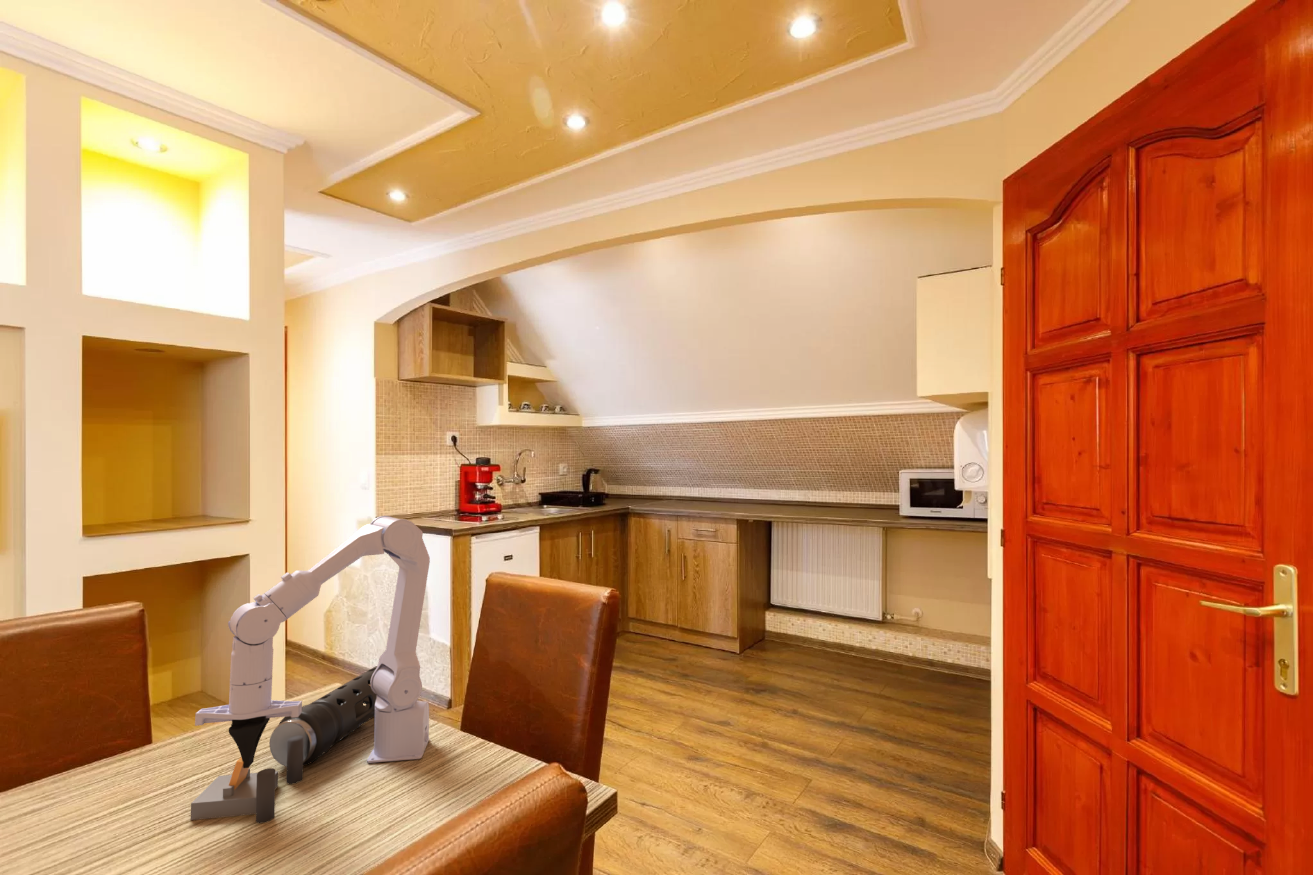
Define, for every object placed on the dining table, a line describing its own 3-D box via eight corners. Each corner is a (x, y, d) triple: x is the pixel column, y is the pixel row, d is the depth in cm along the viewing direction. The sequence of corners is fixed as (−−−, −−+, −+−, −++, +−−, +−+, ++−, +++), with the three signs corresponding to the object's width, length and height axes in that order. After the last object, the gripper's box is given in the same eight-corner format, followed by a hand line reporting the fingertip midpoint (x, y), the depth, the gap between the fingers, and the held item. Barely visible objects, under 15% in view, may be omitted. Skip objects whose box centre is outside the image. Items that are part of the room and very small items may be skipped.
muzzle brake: (362, 709, 134) (405, 704, 133) (265, 775, 106) (317, 769, 105) (356, 667, 135) (399, 661, 133) (258, 720, 107) (310, 714, 106)
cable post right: (304, 775, 105) (305, 735, 105) (299, 783, 102) (300, 741, 102) (289, 777, 104) (290, 736, 104) (283, 784, 102) (284, 742, 102)
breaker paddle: (245, 777, 99) (254, 750, 99) (234, 790, 95) (243, 762, 95) (239, 776, 98) (248, 749, 99) (227, 789, 95) (236, 761, 95)
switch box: (277, 785, 101) (278, 763, 101) (255, 813, 93) (256, 789, 94) (218, 791, 100) (219, 767, 100) (190, 819, 92) (191, 794, 92)
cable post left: (277, 812, 94) (278, 767, 94) (270, 822, 91) (271, 775, 92) (260, 814, 93) (261, 768, 94) (252, 823, 91) (253, 777, 91)
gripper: (308, 667, 103) (305, 748, 102) (211, 674, 99) (207, 758, 99) (295, 682, 96) (291, 769, 96) (190, 689, 92) (185, 780, 92)
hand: (247, 765), depth 97 cm, fingers closed, pressing on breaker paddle
